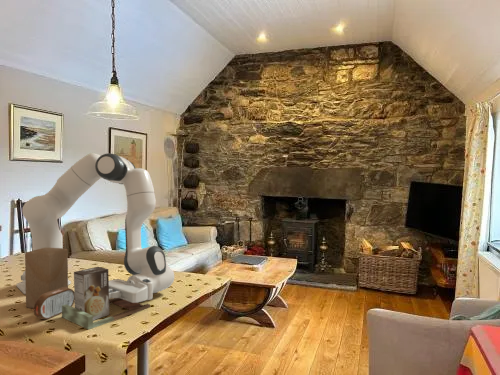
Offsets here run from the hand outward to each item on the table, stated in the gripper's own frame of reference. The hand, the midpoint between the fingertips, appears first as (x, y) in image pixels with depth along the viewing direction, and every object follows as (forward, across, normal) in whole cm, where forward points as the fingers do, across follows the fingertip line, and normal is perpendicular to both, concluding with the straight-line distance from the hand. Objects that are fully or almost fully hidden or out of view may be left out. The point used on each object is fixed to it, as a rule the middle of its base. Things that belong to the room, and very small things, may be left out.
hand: (104, 296), depth 130 cm
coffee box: (+4, 0, +6) cm, 8 cm away
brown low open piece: (-1, 0, +6) cm, 6 cm away
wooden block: (+8, -24, +6) cm, 26 cm away
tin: (+11, -12, +6) cm, 17 cm away
